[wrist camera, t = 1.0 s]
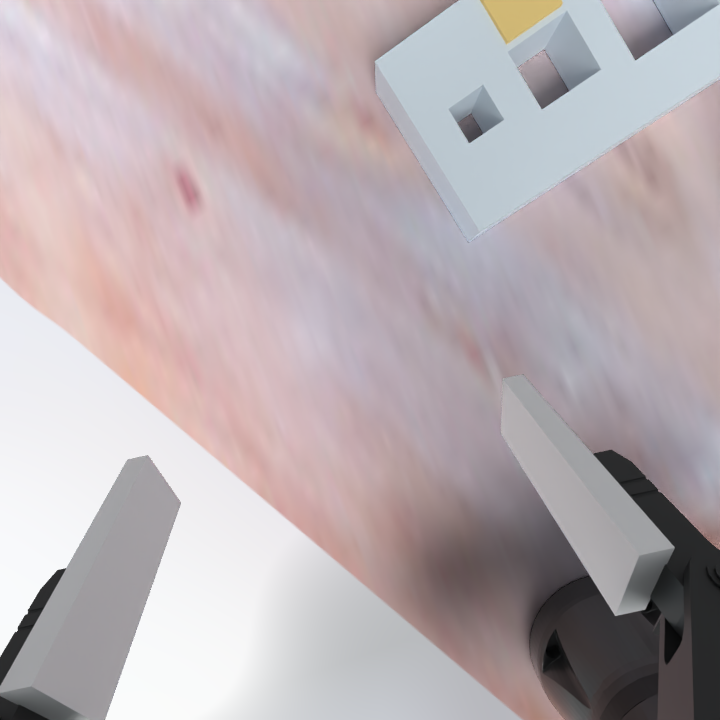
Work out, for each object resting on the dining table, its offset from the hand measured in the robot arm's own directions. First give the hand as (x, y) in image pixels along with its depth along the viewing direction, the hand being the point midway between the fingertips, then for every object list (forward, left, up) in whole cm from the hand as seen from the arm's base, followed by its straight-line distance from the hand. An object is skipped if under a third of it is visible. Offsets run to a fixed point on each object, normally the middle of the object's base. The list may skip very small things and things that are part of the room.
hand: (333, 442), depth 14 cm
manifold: (+13, -28, -22) cm, 38 cm away
